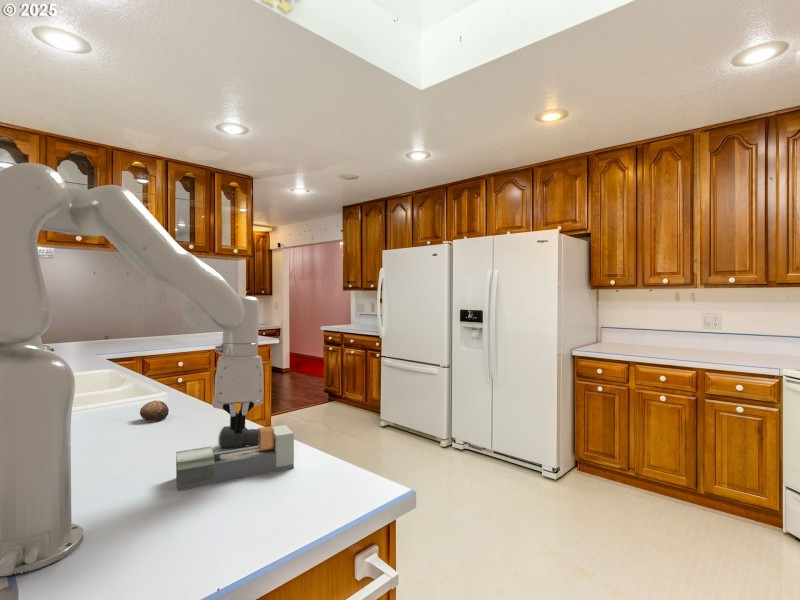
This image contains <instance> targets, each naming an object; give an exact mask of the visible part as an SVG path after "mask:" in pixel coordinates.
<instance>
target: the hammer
mask: <svg viewBox="0 0 800 600" xmlns="http://www.w3.org/2000/svg"><path fill="white" fill-rule="evenodd" d="M272 427H273V426H271V425H270V426H263V427H258V428H257V429H258V447H259V449H253V450H247V451H241V452H235V453H229V454H223V455H219V461H222V460H228V459H234V458H239V457H245V456H251V455H257V454H263V453H269V452H274V451H275V446H274V429H273V428H272Z"/></svg>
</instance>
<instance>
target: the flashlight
mask: <svg viewBox="0 0 800 600" xmlns="http://www.w3.org/2000/svg"><path fill="white" fill-rule="evenodd" d="M217 439H218V440H217V442H218V447H219V448H220V449H233V448H246V447H247V446H248V447H253V446H258V428H256V429H255V428H250V429H248V428H247V427H246V426H245V429H242V434H239V433H238V434H234V433H233V430H230V425H228V426H227V425H223V426H221V428H220V430H219V433H218V438H217Z"/></svg>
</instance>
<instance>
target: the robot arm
mask: <svg viewBox="0 0 800 600" xmlns="http://www.w3.org/2000/svg"><path fill="white" fill-rule="evenodd" d="M40 231H48V232H56V233H62V234H68V235H75V236H76V235H80V236H89V237H104V238H105V239H106V240H107V241H109V243H110V244H111V245H112V246H113V247H114V248H115V249H116V250H118V252H120V253H121V254H122V255H123V256H124V257H125V259H127V260H128V261H129V262H130V264H131V265H133V266H134V267H135V269H137V270H138V271H139V272H140V273H141V274H142V275H143V276H145V277H147V278H148V279H150V280H153V281H154V282H157V283H159V284H162V285H164V286H167V287H170V288H172V289H174V290H175V291H177V292H179V293H181V294H183V295H184V296H186V297H187V299H186V300H185V302H184V303H183V305H182V307H181V308H182V309H181V313H182V317H183V319H184V320H185V322H186V323H188V325H191V326H192V327H195V328H197V329H204V330H205V329H206V330H217V331H222V342H221V343H220V344H219V345H215V347H214V351H215V353H220V354H221V356H219V357H218V358H217V363H216V364H217V365H216V369H215V375H214V376H215V377H214V386H213V401H212V407H213V408H214V409H220V410H224V411H226V413H227V414H229V416H230V417H229V426H230V430H233V433H234V434H238V433H239V434H242V429H245V427H246V416H247V414H248V413H249V412H250V411H251V410H252V409H253V408H254V407H257V406H261V405H263V404H264V393H265V392H264V389H265V388H264V387H265V385H264V383H265V382H264V366H263V359H262V356H261V355H259V353H258V352H259V351H258V348H259V326H260V322H259V321H260V300H259V299H258V298H257V297H255V296H253V295H239V294H238V293H237V292H236V291H235V290H234V288H232V286H231V285H230V284H229V283H228V282H227V280H226V279H225V278H223V276H222V275H221V274H220V273H219V272H217V271H216V270H215V269H214V268H212V267H211V266H209V265H208V264H206V263H205V262H204V261H202V260H201V259H199V258H198V257H197V256H195V255H194V254H192V253H191V252H189V251H188V250H186V249H185V248H183V247H182V246H181V245H180V244H179V243H178V242H177V241H176V240H175V239H174V238H173V236H171V234H170V233H168V231H167V230H166V229H165V228H164V227H163V226H162V224H161V223H160V222H159V221H158V220H157V219H156V217H154V215H153V214H152V213H151V212H150V211H149V209H148V208H147V207H146V206H145V205H144V204H143V203H142V202H141V200H139V198H138V197H137V196H135V195H134V194H133V193H132V192H131V191H130V190H129V189H127V188H126V187H123V186H121V185H117V184H106V185H104V184H103V185H99V186H95V187H93V188H90V189H89V188H88V189H83V188H75V187H70V186H67V184H66V181H65V180H64V178H63V177H62V176H61V174H60V173H58V172H57V171H56V170H55V169H53V168H51V167H50V166H47V165H45V164H42V163H37V162H20V163H16V164H13V165H10V166H7V167H5V168H4V169H2V170H0V577H8V576H9V577H10V576H13V575H12V574H15V575H17V574H16V573H21V572H25V573H28V572H31V571H35V570H37V569H40V568H44V567H46V566H48V565H51V564H53V563H55V562H58V561H59V560H61V559H63V558H64V557H66V556H68V555H69V554H71V553H72V552H73V551H75V550H76V549H77V548H78V547H79V546H80V545H81V543H82V542H83V540H84V530H83V527H81V526H80V525H78V524H75V523H72V457H71V456H72V453H71V452H72V448H71V447H72V446H71V442H72V441H71V438H72V437H71V434H72V433H71V425H72V412H73V406H74V405H73V404H74V398H75V390H76V380H75V375H74V372H73V370H72V368H71V366H70V365H69V364H68V362H67V361H66V360H65V359H63V358H62V357H61V356H60V355H58V354H55V353H53V352H50V351H47V350H44V345H43V341H42V335H44V334H45V333H46V332H47V330H48V329H49V328H50V326H51V324H52V321H53V311H52V306H51V303H50V302H51V301H50V298H49V296H48V292H47V288H46V284H45V280H44V276H43V271H42V268H41V264H40V256H39V250H38V238H39V235H40ZM236 404H240V406H239V407H240V408H239V410H238V412H237V409H236ZM27 571H28V572H27ZM21 574H22V573H21Z"/></svg>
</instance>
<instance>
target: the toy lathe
mask: <svg viewBox="0 0 800 600" xmlns="http://www.w3.org/2000/svg"><path fill="white" fill-rule="evenodd" d="M272 428H273V429H274V446H275V451H274V452H269V453H263V454H257V455H251V456H245V457H239V458H234V459H228V460H222V461H219V455H223V454H229V453H235V452H241V451H247V450H253V449H259V447H258V446H248V447H247V446H246V447H240V448H235V449H230V450H223V451H217V452H213V448H212V446H206V447H205V446H204V447H199V448H191V449H185V450H179V451H176V452H175V459H176V460H175V461H176V462H175V464H176V468H175V478H176V487H177V488H176V489H177V492H179V491H184V490H189V489H193V488H199V487H204V486H209V485H215V484H219V483H220V484H221V483H224V482H230V481H234V480H235V481H236V480H241V479H245V478H250V477H256V476H261V475H266V474H271V473H276V472H281V471H287V470H292V469H294V468H295V467H294V466H295V465H294V463H295V456H294V455H295V439H294V438H295V437H294V436H295V432H294V431H292V430H291V429H290V427H289V426H288V425H287V424H284V425H283V424H282V425H276V426H272Z"/></svg>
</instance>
